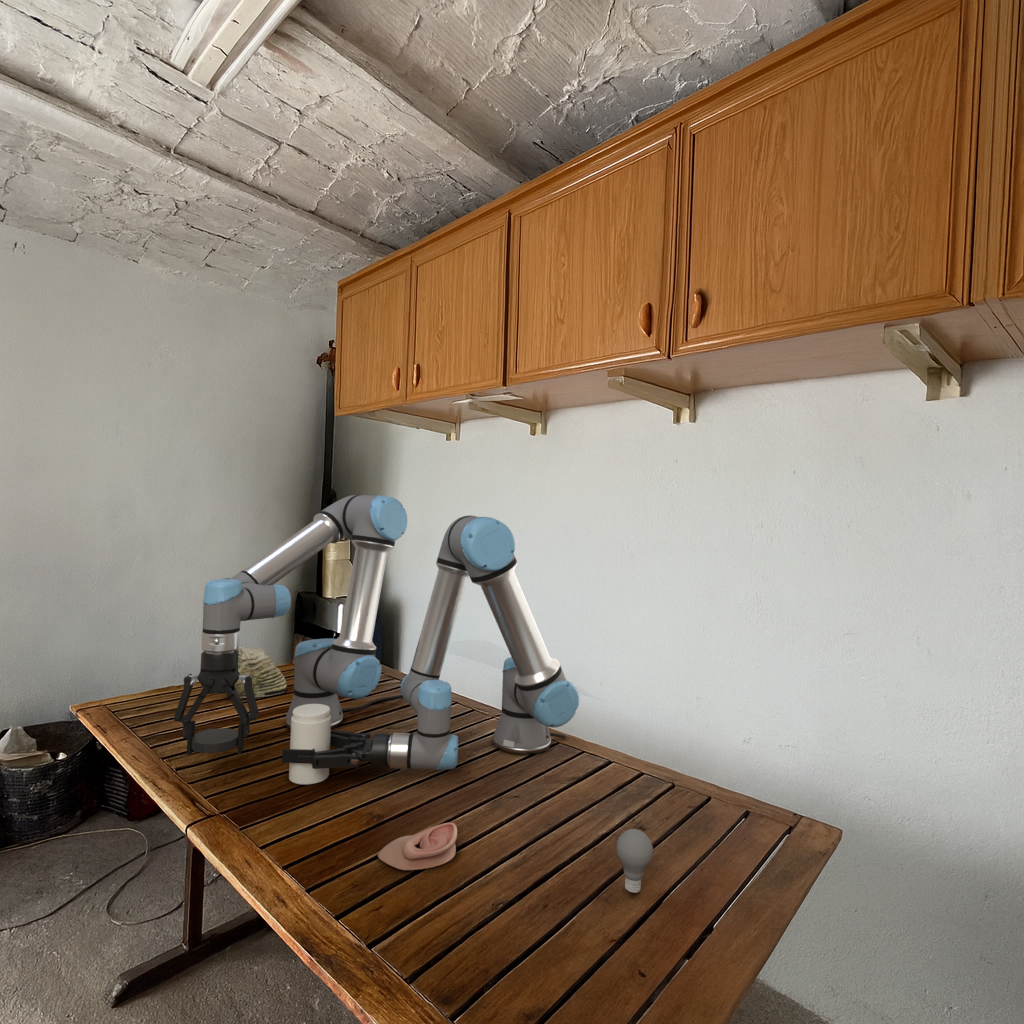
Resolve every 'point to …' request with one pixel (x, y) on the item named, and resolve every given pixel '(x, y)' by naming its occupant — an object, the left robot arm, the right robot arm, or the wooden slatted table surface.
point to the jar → (309, 740)
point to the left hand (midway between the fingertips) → (215, 751)
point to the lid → (215, 740)
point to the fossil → (259, 673)
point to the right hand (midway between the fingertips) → (289, 747)
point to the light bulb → (634, 857)
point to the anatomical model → (422, 848)
